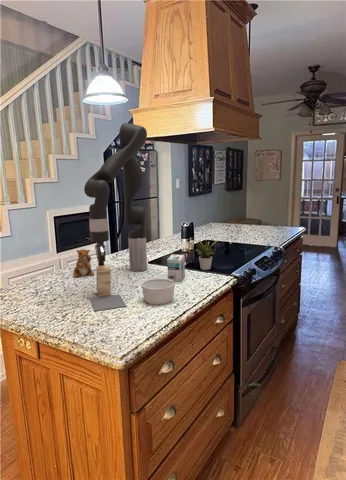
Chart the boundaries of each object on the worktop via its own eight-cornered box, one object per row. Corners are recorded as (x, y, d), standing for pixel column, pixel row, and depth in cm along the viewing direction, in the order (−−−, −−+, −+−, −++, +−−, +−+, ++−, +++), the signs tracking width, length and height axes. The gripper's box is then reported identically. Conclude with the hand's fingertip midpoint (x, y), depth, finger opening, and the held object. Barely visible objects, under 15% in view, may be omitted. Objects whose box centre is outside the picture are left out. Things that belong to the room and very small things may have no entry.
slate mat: (90, 298, 139) (90, 298, 139) (119, 294, 143) (119, 294, 143) (94, 311, 126) (94, 310, 126) (126, 306, 130) (126, 305, 130)
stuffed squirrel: (73, 278, 167) (71, 252, 164) (73, 271, 180) (71, 246, 177) (94, 276, 170) (92, 250, 167) (92, 269, 183) (91, 245, 180)
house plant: (185, 270, 176) (185, 239, 173) (194, 264, 189) (194, 235, 186) (212, 273, 171) (212, 241, 168) (219, 266, 184) (219, 236, 181)
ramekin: (163, 308, 128) (162, 290, 127) (135, 302, 135) (134, 285, 133) (181, 297, 139) (180, 281, 138) (154, 292, 146) (154, 276, 144)
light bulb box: (181, 282, 158) (181, 259, 156) (167, 281, 159) (166, 259, 157) (185, 275, 168) (185, 254, 166) (171, 275, 170) (171, 254, 168)
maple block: (96, 290, 145) (96, 266, 140) (108, 289, 146) (108, 264, 141) (98, 297, 141) (97, 272, 135) (110, 295, 142) (110, 270, 137)
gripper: (111, 231, 135) (113, 273, 138) (105, 226, 147) (108, 265, 150) (91, 232, 132) (94, 275, 136) (88, 227, 145) (90, 267, 148)
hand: (101, 270), depth 143 cm, fingers closed
